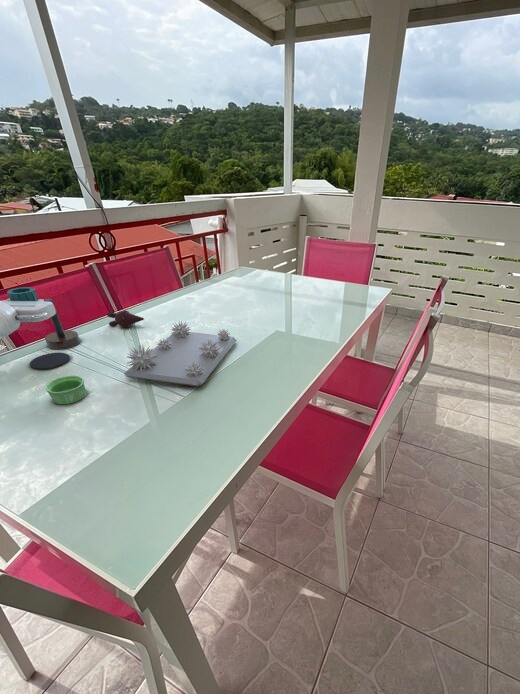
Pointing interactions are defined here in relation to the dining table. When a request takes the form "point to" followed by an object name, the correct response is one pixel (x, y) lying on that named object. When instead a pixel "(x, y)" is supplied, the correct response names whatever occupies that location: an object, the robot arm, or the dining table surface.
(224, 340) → the decorative tray
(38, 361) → the coaster
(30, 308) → the robot arm
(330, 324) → the dining table surface
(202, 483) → the dining table surface
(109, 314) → the icecream
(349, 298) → the dining table surface
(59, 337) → the holder
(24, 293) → the teal ribbed hollow cylinder
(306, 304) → the dining table surface
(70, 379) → the ramekin
